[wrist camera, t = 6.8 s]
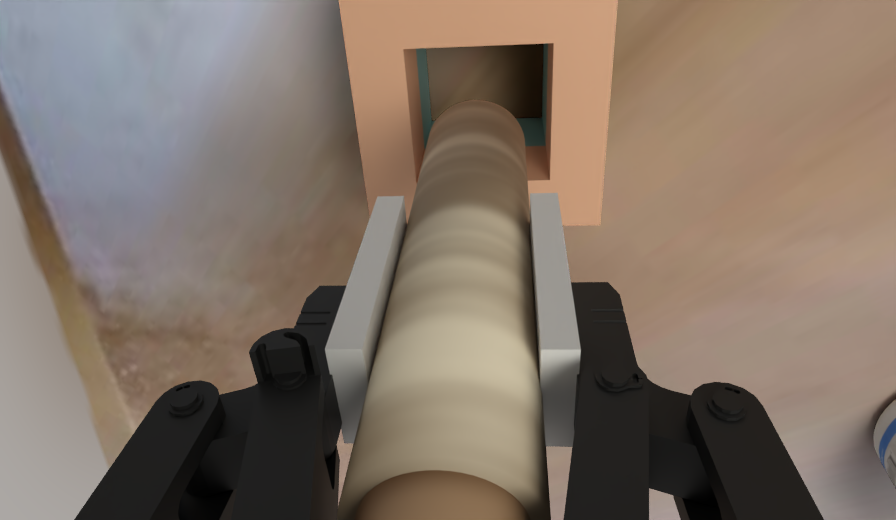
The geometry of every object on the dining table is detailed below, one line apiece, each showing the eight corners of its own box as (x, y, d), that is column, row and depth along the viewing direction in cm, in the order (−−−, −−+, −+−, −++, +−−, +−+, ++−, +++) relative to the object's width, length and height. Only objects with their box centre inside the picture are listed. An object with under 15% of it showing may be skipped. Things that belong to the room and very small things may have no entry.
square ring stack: (370, -43, 30) (337, -11, 24) (596, -55, 29) (619, -24, 23) (393, 161, 35) (371, 228, 29) (584, 156, 34) (600, 225, 28)
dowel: (424, 101, 24) (291, 555, 9) (525, 98, 23) (563, 563, 8) (431, 191, 26) (333, 685, 11) (524, 189, 25) (555, 696, 10)
